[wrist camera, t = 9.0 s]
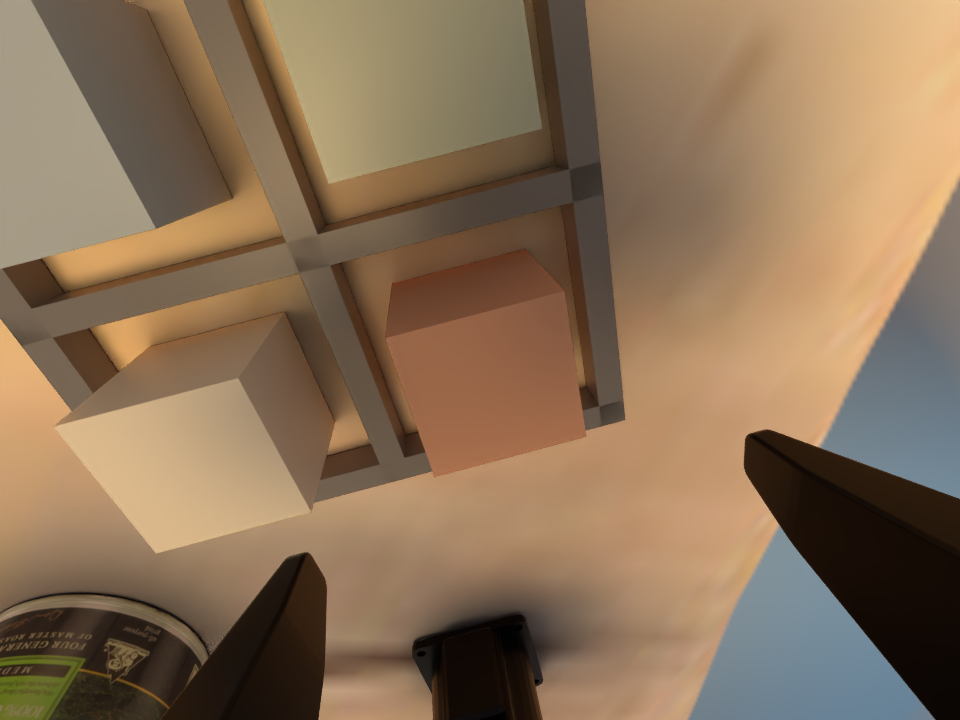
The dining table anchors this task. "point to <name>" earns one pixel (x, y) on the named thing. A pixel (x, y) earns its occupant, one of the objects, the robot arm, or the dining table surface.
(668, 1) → the dining table surface
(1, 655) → the coffee can
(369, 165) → the charcoal frame
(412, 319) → the terracotta block
